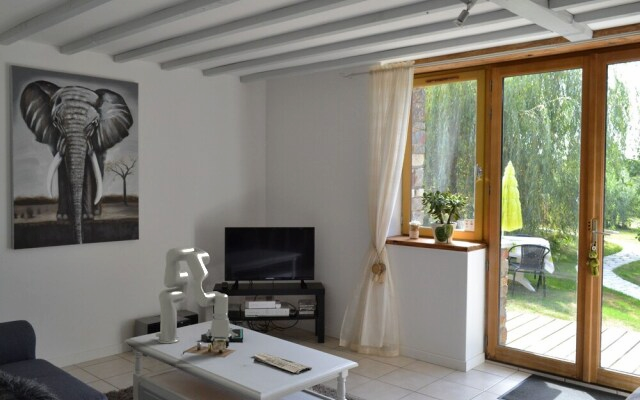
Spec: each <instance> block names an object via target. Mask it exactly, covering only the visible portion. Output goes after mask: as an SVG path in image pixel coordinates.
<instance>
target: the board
mask: <svg viewBox="0 0 640 400" xmlns="http://www.w3.org/2000/svg"><path fill="white" fill-rule="evenodd" d="M235 351H237V350H235V349H228V348H226V350H213V348H212V346H211V343H207V346H205V345H204V346H203V345H202V343H201V342H196V345H194V346H192V347H190V348H188V349H185V350H183V352H182V355H184V354H185V353H187V354H188V353H189V354H195V355H203V356H210V357H218V358H226V357H227V356H229V355H231V354H232V353H234V352H235Z"/></svg>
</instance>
